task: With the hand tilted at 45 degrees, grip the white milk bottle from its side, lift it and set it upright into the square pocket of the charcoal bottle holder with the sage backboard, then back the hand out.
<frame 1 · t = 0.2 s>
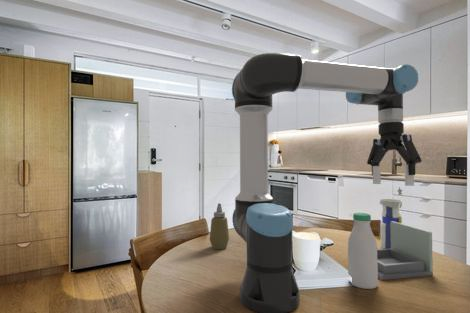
hand: (392, 184, 93), 27 cm above the table, tool pointing down, fingers open, 13 cm apart
bottle holder: (388, 267, 90), on the table
milk bottle: (362, 284, 78), on the table
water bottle: (391, 248, 111), on the table
squeeze bottle: (219, 248, 112), on the table
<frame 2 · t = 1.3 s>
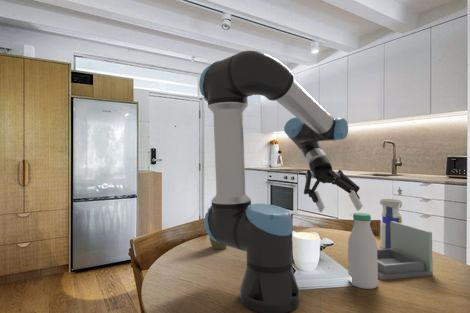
hand: (341, 209, 89), 20 cm above the table, tool tilted 45°, fingers open, 13 cm apart
nothing on the table moved.
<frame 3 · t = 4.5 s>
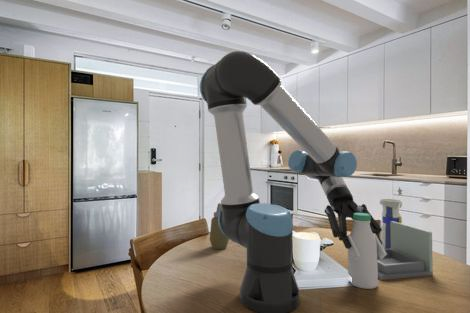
hand: (370, 257, 75), 9 cm above the table, tool tilted 45°, fingers closed on milk bottle, 7 cm apart
milk bottle: (362, 284, 78), on the table, touching gripper
everything else where it was.
when the fingers open (11 cm above the table, at t = 10.1 s): milk bottle drops 1 cm, resting on bottle holder.
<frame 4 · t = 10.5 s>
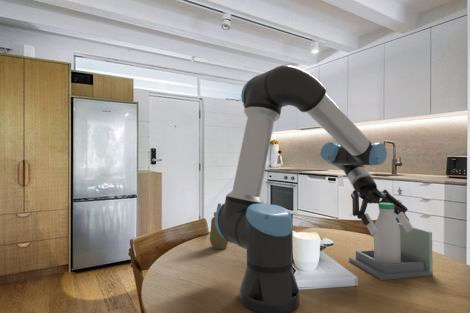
hand: (392, 231, 88), 12 cm above the table, tool tilted 45°, fingers open, 13 cm apart
milk bottle: (387, 264, 90), point 1 cm above the table, touching bottle holder
everything else where it was.
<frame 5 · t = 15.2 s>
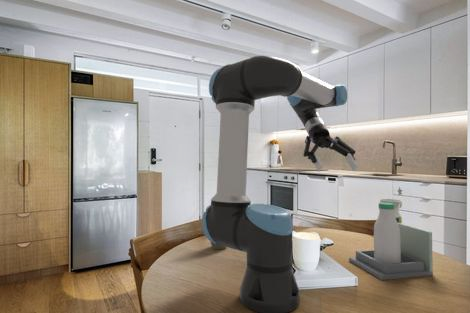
hand: (338, 168, 96), 33 cm above the table, tool tilted 45°, fingers open, 13 cm apart
nothing on the table moved.
at the end: milk bottle 0.3 cm off-centre on the bottle holder, point 1.0 cm above the bottle holder's base; milk bottle tilted 0°; the gripper is holding nothing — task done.
